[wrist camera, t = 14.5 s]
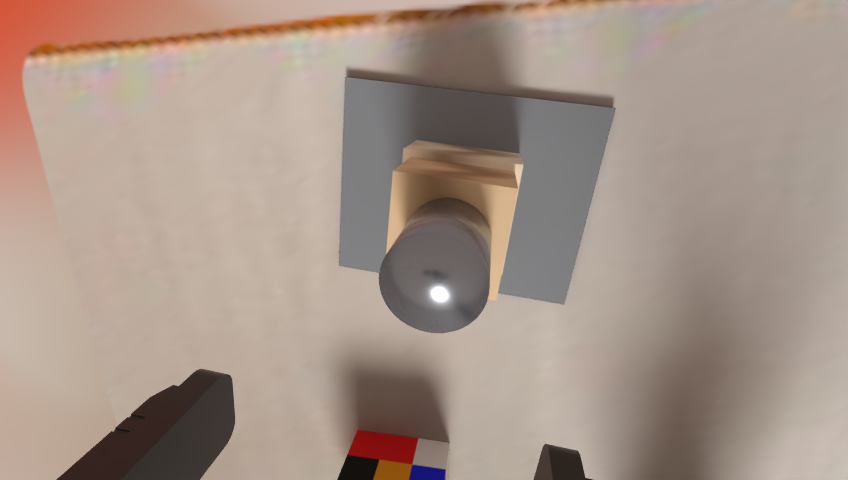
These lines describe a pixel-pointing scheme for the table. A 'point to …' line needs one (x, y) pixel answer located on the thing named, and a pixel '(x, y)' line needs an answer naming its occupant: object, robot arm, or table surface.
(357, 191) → the slate mat
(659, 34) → the table surface
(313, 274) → the table surface
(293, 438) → the table surface
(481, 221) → the metal cylinder
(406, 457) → the puzzle toy
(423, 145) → the base block
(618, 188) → the table surface
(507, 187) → the top block
